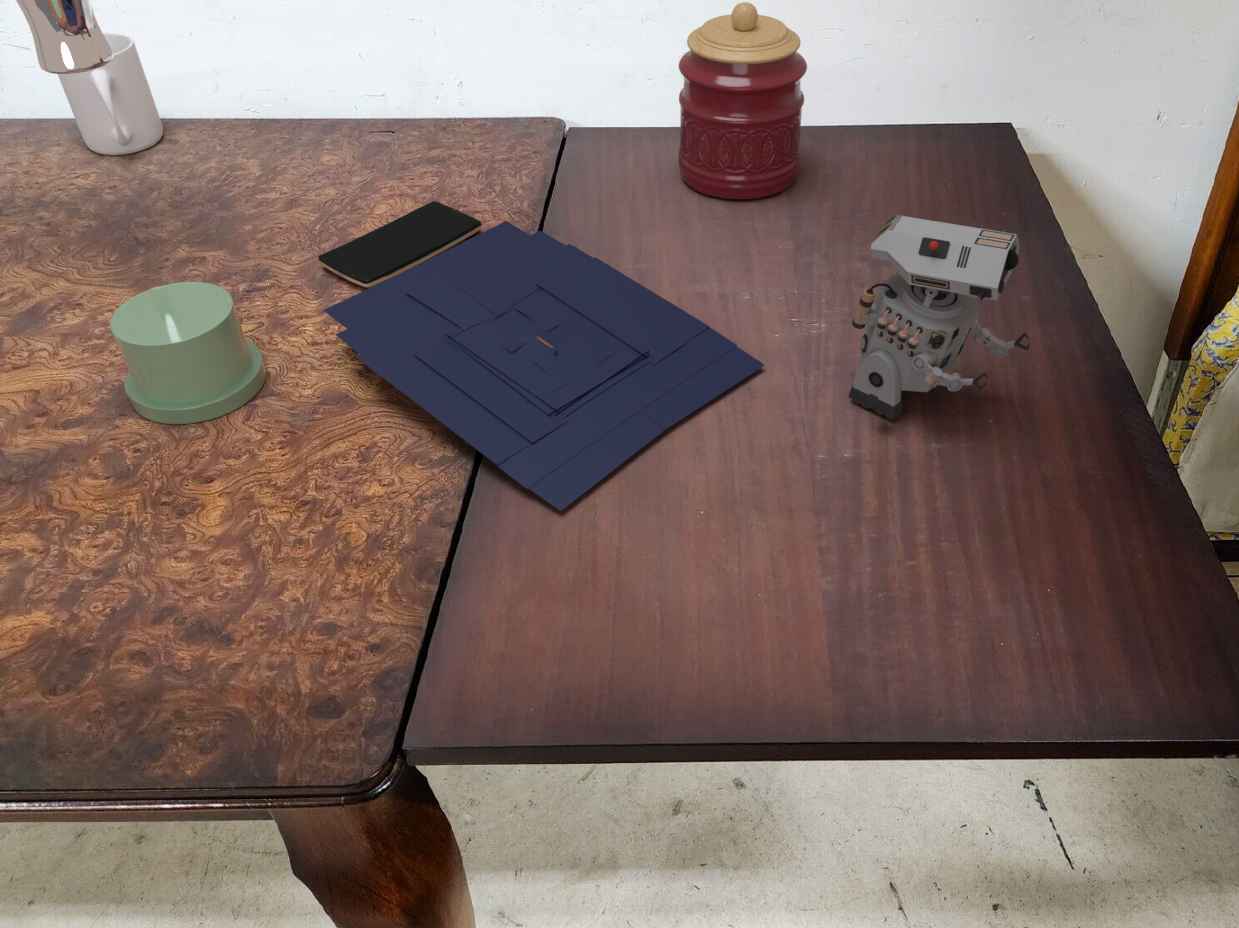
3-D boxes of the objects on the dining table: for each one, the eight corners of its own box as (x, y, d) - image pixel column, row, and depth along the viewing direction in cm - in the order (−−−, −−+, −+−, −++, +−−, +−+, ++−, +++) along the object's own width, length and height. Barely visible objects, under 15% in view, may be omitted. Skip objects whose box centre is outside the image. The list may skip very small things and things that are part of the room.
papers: (521, 238, 103) (520, 204, 100) (762, 388, 91) (769, 355, 88) (309, 345, 90) (301, 310, 87) (557, 538, 77) (557, 504, 75)
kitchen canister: (733, 138, 122) (739, -27, 110) (822, 173, 115) (839, 1, 103) (653, 176, 115) (650, 4, 103) (744, 214, 109) (752, 36, 97)
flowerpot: (119, 432, 84) (85, 358, 79) (142, 355, 91) (112, 284, 87) (261, 415, 85) (236, 341, 80) (271, 340, 93) (249, 269, 88)
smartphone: (314, 256, 101) (434, 199, 109) (317, 267, 102) (436, 209, 110) (363, 282, 97) (484, 220, 106) (366, 293, 98) (485, 231, 106)
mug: (89, 175, 117) (50, 77, 110) (85, 133, 125) (48, 39, 118) (171, 160, 120) (138, 63, 112) (162, 120, 128) (130, 27, 120)
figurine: (955, 454, 80) (996, 281, 70) (832, 394, 86) (852, 225, 76) (1015, 400, 85) (1061, 230, 75) (894, 346, 91) (922, 182, 81)
